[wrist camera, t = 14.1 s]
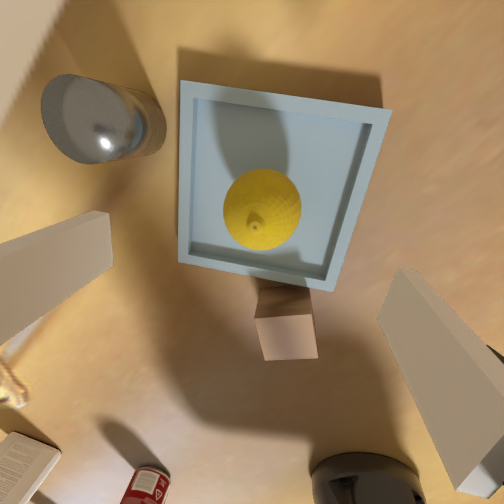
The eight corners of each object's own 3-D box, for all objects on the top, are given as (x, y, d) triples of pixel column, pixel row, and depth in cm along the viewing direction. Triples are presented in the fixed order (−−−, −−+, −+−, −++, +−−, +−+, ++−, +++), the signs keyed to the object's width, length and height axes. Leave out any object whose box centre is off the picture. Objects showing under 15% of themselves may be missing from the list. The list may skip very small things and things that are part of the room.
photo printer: (10, 439, 50) (-71, 527, 39) (9, 427, 48) (-76, 516, 37) (62, 459, 50) (-5, 553, 39) (63, 448, 48) (-6, 543, 37)
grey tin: (166, 95, 21) (113, 80, 15) (166, 159, 24) (120, 170, 17) (108, 86, 22) (33, 68, 16) (113, 150, 24) (49, 157, 18)
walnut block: (308, 283, 27) (311, 314, 22) (314, 322, 29) (318, 358, 24) (260, 288, 28) (254, 318, 23) (269, 325, 30) (264, 360, 25)
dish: (383, 111, 20) (392, 109, 18) (330, 281, 26) (333, 292, 24) (190, 84, 21) (180, 79, 19) (185, 253, 27) (177, 261, 26)
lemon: (224, 202, 23) (193, 235, 16) (260, 148, 21) (242, 157, 14) (274, 238, 24) (265, 284, 17) (314, 189, 22) (324, 218, 15)
